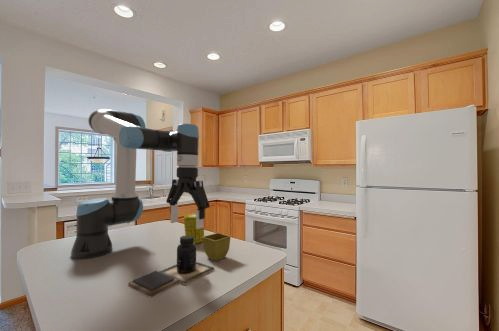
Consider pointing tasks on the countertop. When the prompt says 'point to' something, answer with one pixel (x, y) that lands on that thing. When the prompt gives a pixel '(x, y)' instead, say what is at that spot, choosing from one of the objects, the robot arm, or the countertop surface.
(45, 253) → the countertop surface
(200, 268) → the board
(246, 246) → the countertop surface
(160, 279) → the pad
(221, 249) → the flower pot
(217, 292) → the countertop surface
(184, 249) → the supplement bottle
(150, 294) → the ink tray
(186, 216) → the food
